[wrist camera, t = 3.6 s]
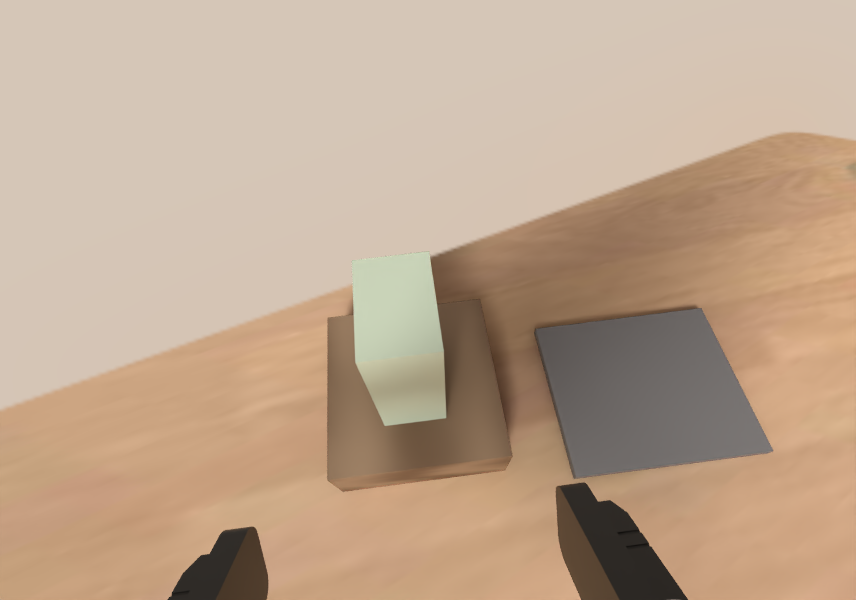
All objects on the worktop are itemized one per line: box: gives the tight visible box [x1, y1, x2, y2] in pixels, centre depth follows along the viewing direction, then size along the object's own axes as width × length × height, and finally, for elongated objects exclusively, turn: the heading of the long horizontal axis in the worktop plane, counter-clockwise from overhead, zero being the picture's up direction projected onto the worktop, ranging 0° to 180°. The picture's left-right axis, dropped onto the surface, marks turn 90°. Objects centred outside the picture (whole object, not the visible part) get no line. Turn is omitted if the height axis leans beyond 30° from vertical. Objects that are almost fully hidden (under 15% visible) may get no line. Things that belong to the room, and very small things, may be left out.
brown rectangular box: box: [327, 299, 512, 492], centre depth 28 cm, size 10×10×4 cm
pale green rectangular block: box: [352, 251, 446, 426], centre depth 23 cm, size 4×5×9 cm
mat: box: [534, 308, 773, 479], centre depth 29 cm, size 12×10×1 cm
